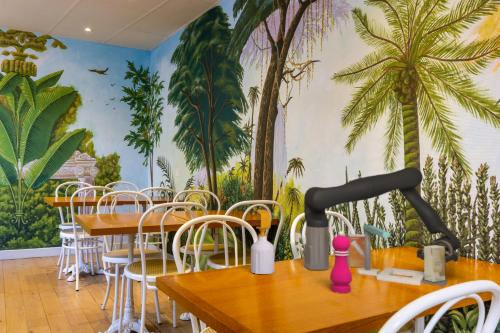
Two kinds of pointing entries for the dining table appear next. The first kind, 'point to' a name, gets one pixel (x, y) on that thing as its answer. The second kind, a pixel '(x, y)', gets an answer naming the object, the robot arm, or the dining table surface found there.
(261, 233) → the soap bottle
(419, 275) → the holder
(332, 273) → the pepper mill
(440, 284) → the coaster
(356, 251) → the small box
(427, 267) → the skincare box
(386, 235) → the swing bar
